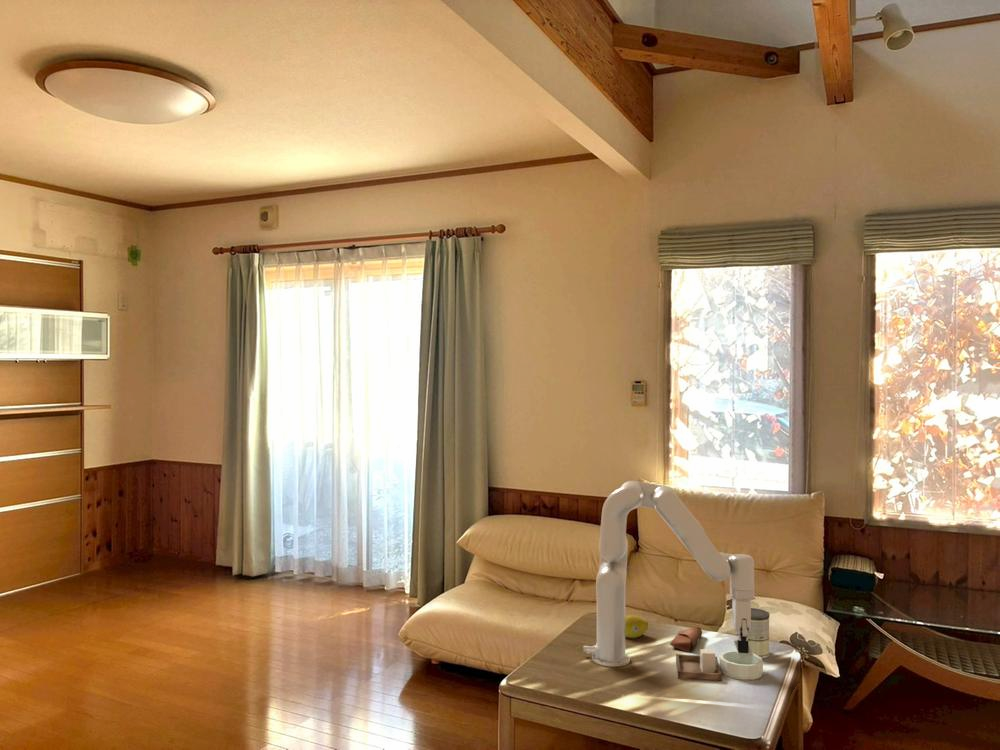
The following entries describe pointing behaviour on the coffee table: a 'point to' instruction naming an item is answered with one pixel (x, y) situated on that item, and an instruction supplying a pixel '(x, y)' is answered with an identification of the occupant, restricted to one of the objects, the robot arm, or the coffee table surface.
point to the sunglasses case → (687, 639)
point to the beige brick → (707, 660)
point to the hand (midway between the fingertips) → (742, 649)
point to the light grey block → (742, 655)
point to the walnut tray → (695, 669)
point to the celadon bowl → (740, 666)
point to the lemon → (635, 626)
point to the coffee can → (759, 633)
